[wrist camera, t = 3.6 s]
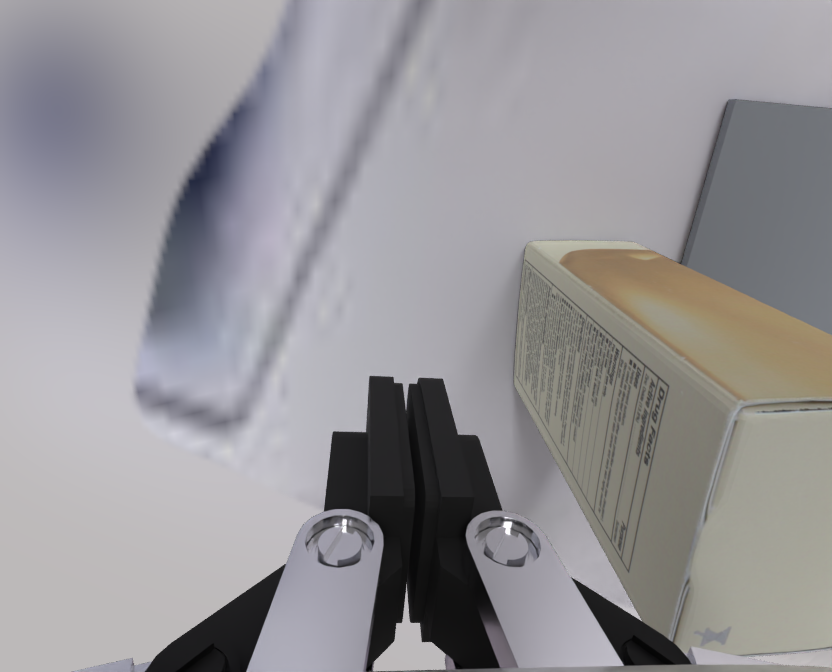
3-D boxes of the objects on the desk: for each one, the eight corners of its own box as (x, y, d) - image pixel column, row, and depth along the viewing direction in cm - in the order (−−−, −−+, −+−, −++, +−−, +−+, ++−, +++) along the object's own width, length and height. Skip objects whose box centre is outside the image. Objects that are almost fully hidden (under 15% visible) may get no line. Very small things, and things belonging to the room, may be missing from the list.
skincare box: (609, 381, 22) (856, 664, 11) (509, 384, 22) (657, 680, 11) (638, 230, 19) (999, 399, 8) (524, 231, 19) (742, 409, 8)
